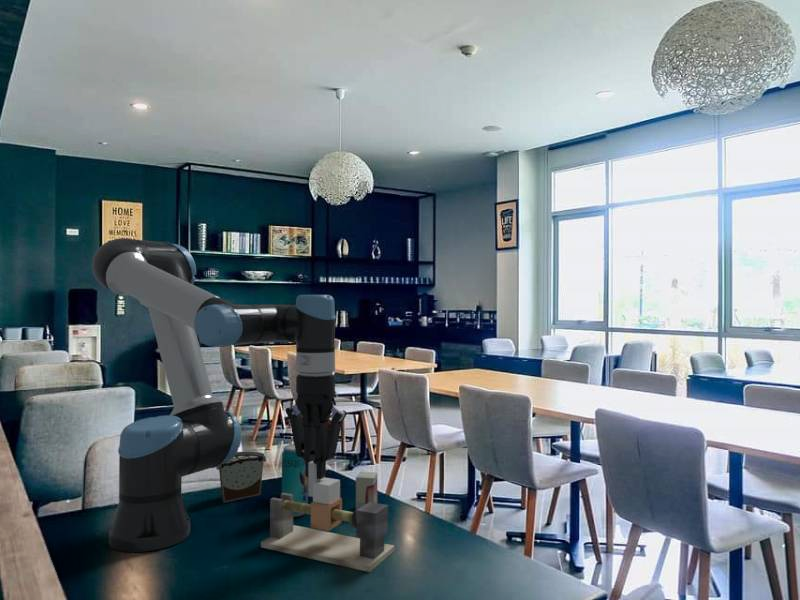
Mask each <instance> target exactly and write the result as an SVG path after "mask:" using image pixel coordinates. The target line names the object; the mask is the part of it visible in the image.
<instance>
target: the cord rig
mask: <svg viewBox="0 0 800 600" xmlns="http://www.w3.org/2000/svg"><path fill="white" fill-rule="evenodd" d="M269 501H270V502H269V503H270V505H269V508H270V509H269V513H270V514H269V515H270V516H269V519H270V520H269V537H268V538H265V539H264V540H262V541H261V542H260V548H263V549H267V550H272V551H276V552H280V553H285V554H290V555H292V556H293V555H294V556H298V557H303V558H306V559H310V560H315V561H319V562H325V563H329V564H332V565H337V566H342V567H347V568H350V569H354V570H359V571H364V572H367V573H371V572H372V571H373V570H374V569H375V568H376V567H377V566H378V565H380V564H381V563H383V562H384V560H386V559H387V558H389V556H390V555H391V554H393V553H394V552H395V551H396V550H395V549H396V548H395V547H396V545H393V544H387V543H385V535H386V534H387V533H388V532H389V504H383V503H378V502H377V503H373V502H369V503H367V504H365V505H364V506H362V507H361V508H359V509H356V508H355V509H354V511H349V510H348V511H347V510H343V509H342V510H338V509H332V508H331V519H337V520H342V522H348V523H351V526H352V527H353V528H355V530H356V531H355V534H356V537H354V536H351V535H350V536H348V535H344V534H340V533H336V532H335V533H334V532H330V531H326V530H321V529H316V528H311V527H305V526H301V525H295V524H294V517H293V511H295V512H300V513H304V515H305V514H306V515H310V516H311V503H308V504H305V503H299V502H294V501H293V494H289V493H282V492H281V493H280V498H278V497H272V498H270V500H269Z"/></svg>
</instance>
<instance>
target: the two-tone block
mask: <svg viewBox="0 0 800 600" xmlns="http://www.w3.org/2000/svg"><path fill="white" fill-rule="evenodd" d="M310 505H311V515H310V528H311V529H315V530H320V531H325V532H330V531H331V530H332V529H334V528H336V527H337V526H339V525H340V524H342V522H343V521H342V520H337V519H331V508H332V509H338V510H343V498H342V497H341V480H340V479H336V478H332V477H325V478H323V479H320V480H318V481H316V482H314V483H313V497H312V501H311V502H310Z"/></svg>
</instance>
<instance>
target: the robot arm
mask: <svg viewBox="0 0 800 600" xmlns="http://www.w3.org/2000/svg"><path fill="white" fill-rule="evenodd" d="M91 271H92V274H93V276H94V278H95V280H96V281H97V283H98V284H99V285H100V286H102V287H103V288H105V289H106V290H108V291H110V292H111V293H113V294H115V295H117V296H118V295H119V296H122V297H123V296H124V297H125V296H130V297H132V298H133V299H136V300H138V301H139V304H140V305H142V306H144V307H146V308H147V309H148V311H149V316H150V319H151V325H152V327H153V331H154V336H155V338H156V343H157V346H158V350H159V355H160V359H161V363H162V366H163V369H164V374H165V377H166V378H165V379H166V380H167V385H168V388H169V393H170V397H171V400H172V401H171V402H172V404H173V409H172V411H171V413H170V414H169V415H158V416H155V417H154V416H150V417H145V418H141V419H138V420H135V421H133V422H131V423H129V424H128V425H126V426H125V427H124V428H123V429H122V431H121V432H120V435H119V446H118V449H117V450H118V451H117V452H118V456H119V458H118V459H119V461H118V464H119V465H118V466H119V468H118V471H119V473H118V474H119V475H118V482H119V483H118V493H119V494H118V505H117V508H116V510H115V514H114V518H113V522H112V525H111V526H110V528H109V531H108V545H109V547H110V548H112V549H114V550H117V551H118V552H119V551H120V552H129V553H130V552H131V553H139V552H140V553H142V552H150V551H151V552H152V551H158V550H163V549H166V548H169V547H171V546H174V545H177V544H179V543H181V542H182V541H183V542H184V540H186V539H187V538H188V537H189V536H190V534H191V520H190V519H191V518H190V517H189V516H188V512H187V507H186V506H185V505H186V504H185V502H184V499H183V496H182V478H183V477H185V476H188V475H192V474H195V473H199V472H202V471H205V470H208V469H215V468H216V467H217V466H219V465H221V464H223V463H226V462H228V461H230V460H231V459H232V458H233V457H234V456H235V455H236V453H237V452H239V451H238V450H239V449H240V446H241V443H242V439H243V438H242V434H243V433H242V427H241V424H240V421H239V418H238V417H237V416H236V415H234V413H232V412H230V411H227V410H225V407H224V404H223V401H222V400H221V399H220V398H217V397H215V396H214V394H213V391H212V387H211V383H210V380H209V377H208V371H207V369H206V365H205V362H204V358H203V357H204V356H203V354H202V351H201V346H200V343H201V344H204V345H205V346H208V347H219V348H225V347H230V346H240V345H248V344H249V345H250V344H262V343H264V344H265V343H278V342H279V343H281V342H282V343H295V348H296V349H295V350H296V355H295V356H296V362H295V363H296V365H295V366H296V367H295V369H296V370H295V371H296V372H297V373H299V374H297V376H296V378H295V383H296V384H295V391H296V394H297V397H296V399H295V403H294V404H293V405H292V406H289V407H287V408H285V414H286V415H287V417H288V420H289V422H290V423H289V424H290V429H291V433H292V439H293V443H294V445H295V450H296V455H297V457H302V458H303V459H304V460H305V471H306V472H305V475H306V477H308V497H312V498H313V483H314V482H316V481H318V480H320V479H323V478H326V475H327V461H328V460H332V459H334V458H335V457H336V453H337V447H338V444H339V438H340V433H341V429H342V424H343V422H344V420H345V419H346V417H347V411H346V410H341V409H340V408H339V407H338V406H337V403H336V399H335V392H336V376H335V374H333V373H334V372H335V371H336V350H335V349H336V348H335V347H336V346H335V340H336V338H335V337H336V336H335V335H336V318H337V317H336V311H335V310H336V309H335V299H334V297H333V296H332V295H330V294H300V295H297V296H296V299H295V300H296V303H295V304H272V303H271V304H270V303H268V304H267V303H264V304H263V303H262V304H236V303H235V304H234V303H232V302H230V301H228V300H226V299H224V298H221V297H220V296H218V295H215V294H213V293H212V292H209V291H207V290H205V289H203V288H201V287H199V286H196V285H194V284H195V281H196V277H195V275H197V265H196V262H195V259H194V257H193V256H192V254H191V253H190V252H189V250H187V248H186V247H184V246H182V245H180V244H176V243H171V242H169V241H153V240H143V239H133V238H129V237H128V238H127V237H125V238H124V237H123V238H115V239H112V240H109V241H107V242H105V243H103V244H102V245H100V247H98V249H96V252H94V254H93V257H92V261H91ZM198 339H199V340H198ZM199 342H200V343H199ZM302 417H303V421H302ZM329 419H330V420H331V422H330V426H329V431H328V436H327V425H328V423H329Z"/></svg>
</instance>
